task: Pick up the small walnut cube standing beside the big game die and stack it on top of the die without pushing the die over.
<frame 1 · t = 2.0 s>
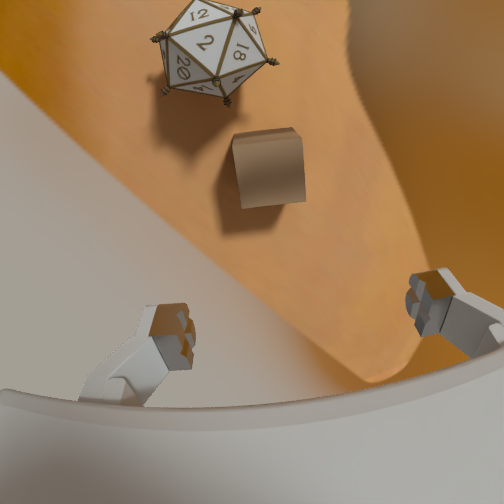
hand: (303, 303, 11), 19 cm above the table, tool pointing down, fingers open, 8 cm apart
game die: (216, 52, 22), on the table
walnut cube: (266, 157, 27), on the table
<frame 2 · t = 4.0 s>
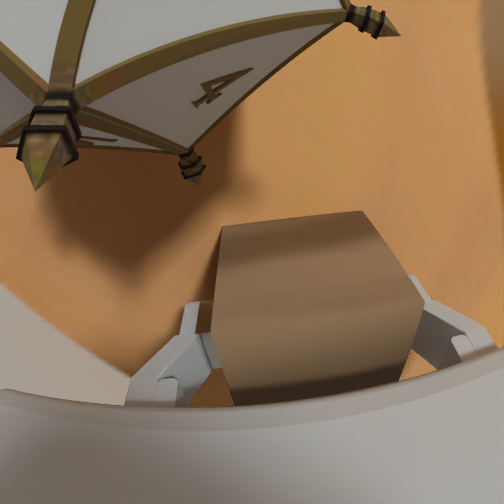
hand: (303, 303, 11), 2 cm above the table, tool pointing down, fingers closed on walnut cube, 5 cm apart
game die: (170, 14, 7), on the table
walnut cube: (297, 275, 12), on the table, touching gripper
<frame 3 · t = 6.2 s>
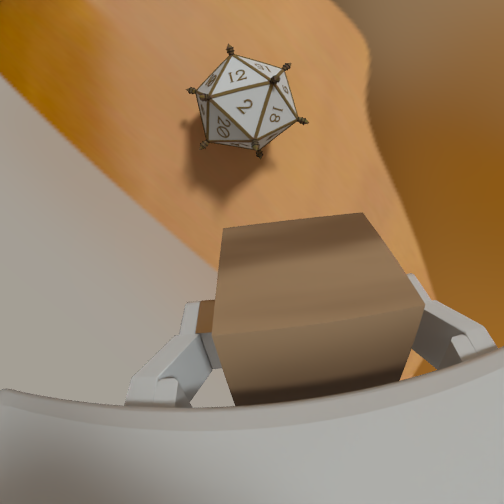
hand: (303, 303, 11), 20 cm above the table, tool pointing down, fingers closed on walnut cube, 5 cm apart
game die: (246, 100, 25), on the table
walnut cube: (298, 277, 12), point 18 cm above the table, touching gripper
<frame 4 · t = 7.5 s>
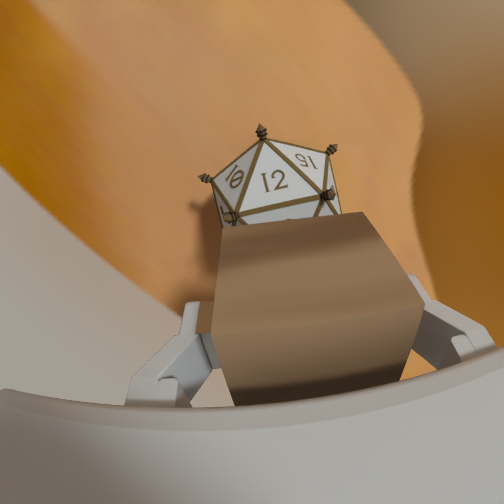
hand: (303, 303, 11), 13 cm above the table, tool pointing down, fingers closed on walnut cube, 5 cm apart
game die: (272, 178, 22), on the table
walnut cube: (297, 276, 12), point 11 cm above the table, touching gripper
when the fingers open (11 cm above the table, at t = 8.3 s): walnut cube drops 1 cm, resting on game die.
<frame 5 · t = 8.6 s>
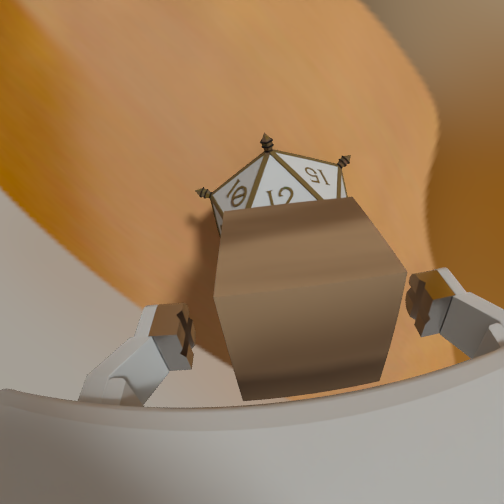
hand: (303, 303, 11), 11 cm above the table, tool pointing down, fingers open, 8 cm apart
game die: (277, 191, 20), on the table, touching walnut cube
walnut cube: (293, 258, 13), point 8 cm above the table, touching game die
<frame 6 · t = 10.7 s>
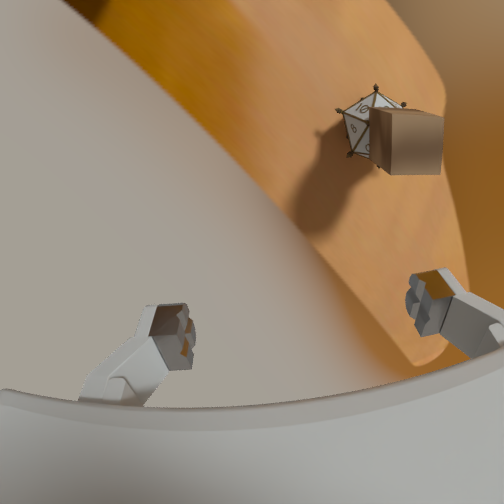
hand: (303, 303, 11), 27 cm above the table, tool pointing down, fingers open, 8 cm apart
game die: (364, 122, 32), on the table, touching walnut cube
walnut cube: (393, 133, 25), point 8 cm above the table, touching game die
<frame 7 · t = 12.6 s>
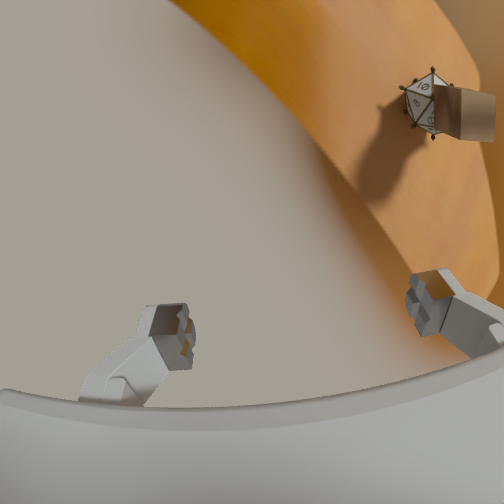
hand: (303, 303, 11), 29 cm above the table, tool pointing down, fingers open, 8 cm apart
game die: (417, 100, 33), on the table, touching walnut cube
walnut cube: (451, 108, 26), point 8 cm above the table, touching game die
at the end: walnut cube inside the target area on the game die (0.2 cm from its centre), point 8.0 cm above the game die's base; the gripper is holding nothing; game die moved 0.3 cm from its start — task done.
